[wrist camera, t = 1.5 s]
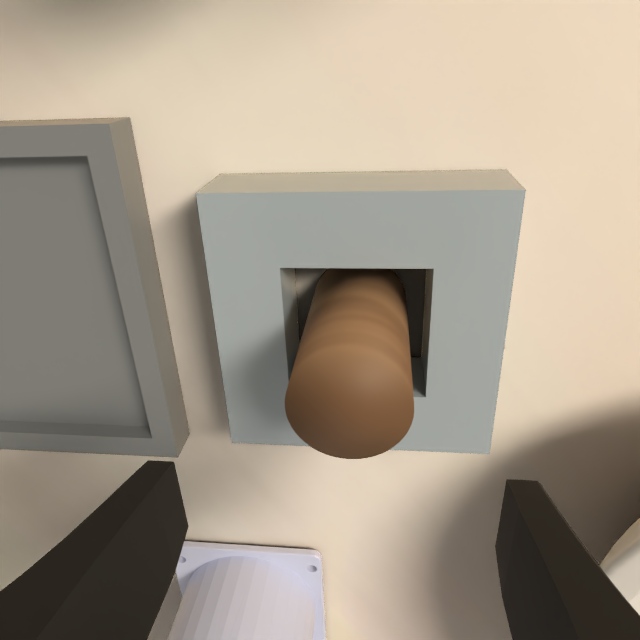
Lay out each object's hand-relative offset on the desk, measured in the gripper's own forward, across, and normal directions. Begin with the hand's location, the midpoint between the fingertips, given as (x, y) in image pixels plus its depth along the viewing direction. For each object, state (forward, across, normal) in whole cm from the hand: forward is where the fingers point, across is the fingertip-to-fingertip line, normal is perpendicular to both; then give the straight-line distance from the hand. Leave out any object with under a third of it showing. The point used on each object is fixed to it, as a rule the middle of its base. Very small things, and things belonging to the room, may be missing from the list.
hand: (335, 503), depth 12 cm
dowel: (+10, 0, 0) cm, 11 cm away
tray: (+10, +15, 0) cm, 18 cm away
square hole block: (+10, 0, 0) cm, 11 cm away
